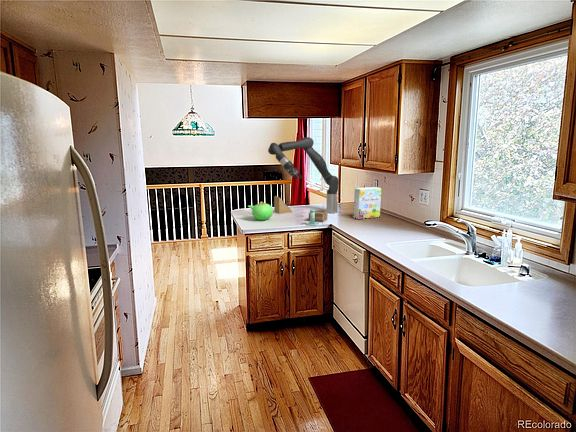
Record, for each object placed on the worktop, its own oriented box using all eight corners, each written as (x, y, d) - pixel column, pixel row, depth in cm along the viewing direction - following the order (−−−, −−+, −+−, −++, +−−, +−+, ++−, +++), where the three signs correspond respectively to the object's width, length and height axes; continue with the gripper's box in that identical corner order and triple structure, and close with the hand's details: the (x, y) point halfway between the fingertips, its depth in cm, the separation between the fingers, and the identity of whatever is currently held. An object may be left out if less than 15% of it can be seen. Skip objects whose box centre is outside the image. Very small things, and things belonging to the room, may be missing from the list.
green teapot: (261, 223, 316) (261, 204, 313) (247, 220, 327) (246, 202, 324) (277, 219, 330) (276, 201, 327) (262, 216, 340) (262, 199, 337)
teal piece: (309, 223, 316) (309, 208, 313) (318, 224, 312) (319, 209, 310) (305, 225, 308) (305, 210, 306) (315, 226, 305) (315, 211, 303)
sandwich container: (293, 212, 360) (293, 195, 357) (279, 214, 352) (279, 197, 349) (288, 210, 367) (288, 194, 364) (274, 212, 359) (274, 196, 356)
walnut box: (313, 218, 333) (313, 210, 332) (327, 219, 328) (327, 211, 327) (308, 221, 323) (308, 212, 321) (322, 222, 318) (322, 213, 316)
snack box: (358, 220, 326) (359, 189, 320) (352, 218, 333) (353, 187, 328) (380, 218, 333) (382, 187, 328) (374, 216, 341) (375, 186, 336)
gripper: (285, 160, 312) (299, 176, 310) (292, 159, 325) (305, 174, 322) (279, 167, 315) (292, 182, 313) (287, 166, 328) (299, 180, 326)
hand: (299, 178), depth 318 cm, fingers open, 8 cm apart
